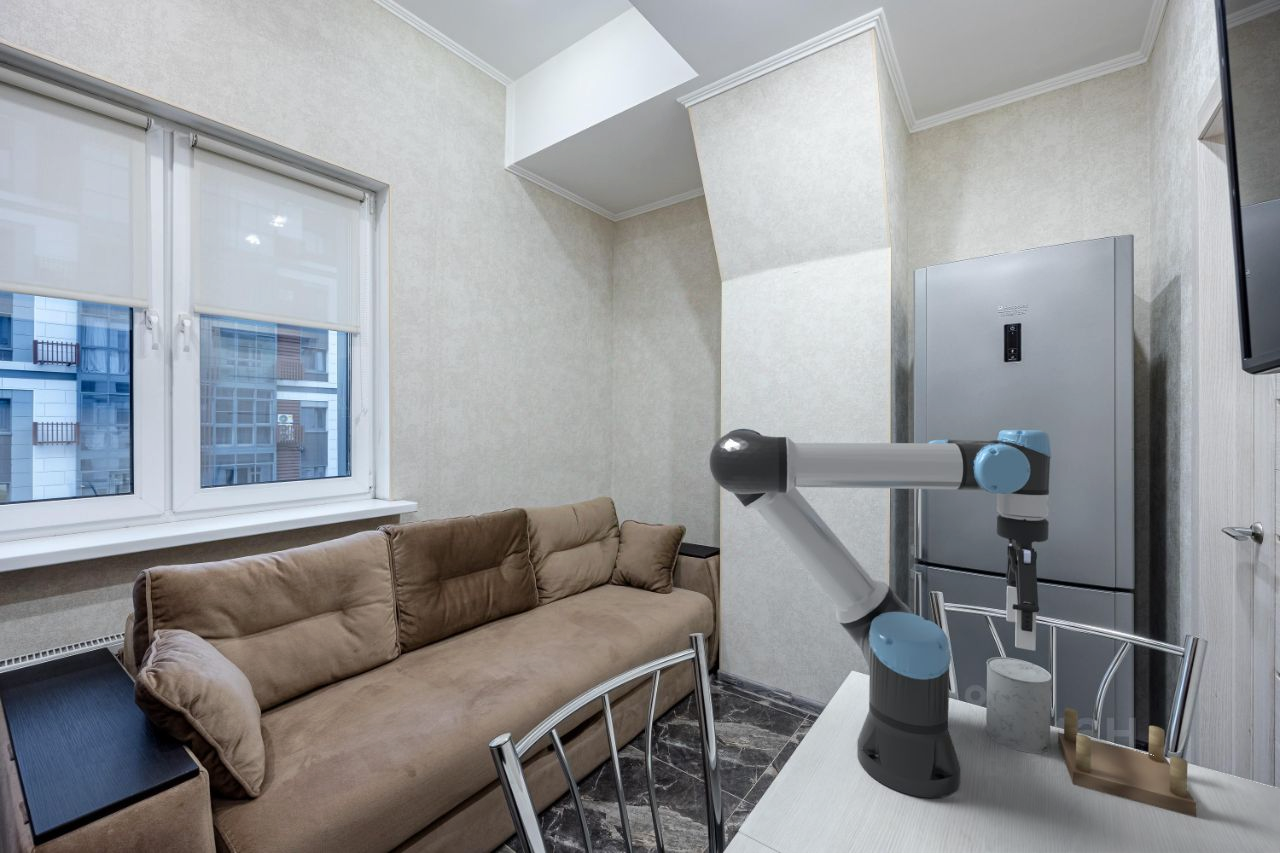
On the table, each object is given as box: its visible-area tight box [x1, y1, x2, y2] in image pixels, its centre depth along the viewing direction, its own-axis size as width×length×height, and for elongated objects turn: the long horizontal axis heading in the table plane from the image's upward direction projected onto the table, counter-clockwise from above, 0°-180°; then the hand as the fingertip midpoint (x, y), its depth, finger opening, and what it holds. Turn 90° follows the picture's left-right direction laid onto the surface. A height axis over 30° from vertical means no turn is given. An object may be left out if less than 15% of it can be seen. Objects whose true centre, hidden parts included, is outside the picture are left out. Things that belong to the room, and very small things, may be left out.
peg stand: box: [1057, 707, 1197, 818], centre depth 86 cm, size 14×12×7 cm
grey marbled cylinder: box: [985, 656, 1052, 754], centre depth 96 cm, size 10×10×12 cm
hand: (1019, 634), depth 96 cm, fingers open, 13 cm apart
